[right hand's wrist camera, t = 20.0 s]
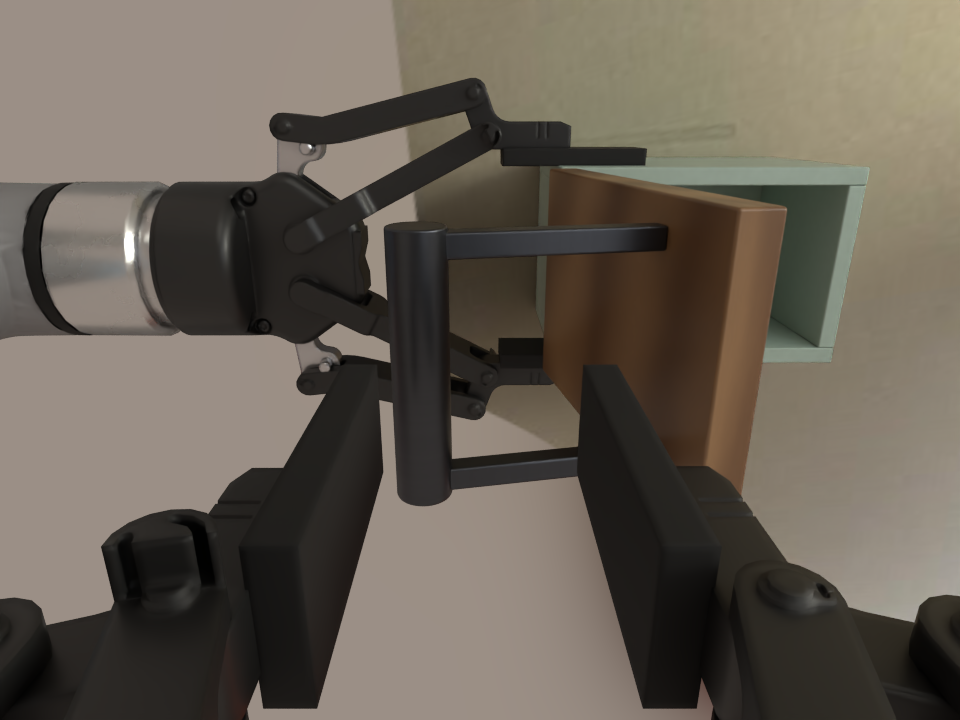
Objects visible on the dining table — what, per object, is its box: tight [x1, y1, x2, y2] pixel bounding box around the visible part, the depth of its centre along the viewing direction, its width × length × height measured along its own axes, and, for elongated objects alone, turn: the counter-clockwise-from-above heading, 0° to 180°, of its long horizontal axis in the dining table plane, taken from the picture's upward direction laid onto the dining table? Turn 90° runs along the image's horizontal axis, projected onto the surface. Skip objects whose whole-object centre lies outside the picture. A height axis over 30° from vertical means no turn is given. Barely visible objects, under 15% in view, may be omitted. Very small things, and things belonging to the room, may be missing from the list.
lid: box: [384, 168, 787, 506], centre depth 22 cm, size 14×9×9 cm
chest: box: [536, 157, 870, 363], centre depth 34 cm, size 14×9×10 cm
